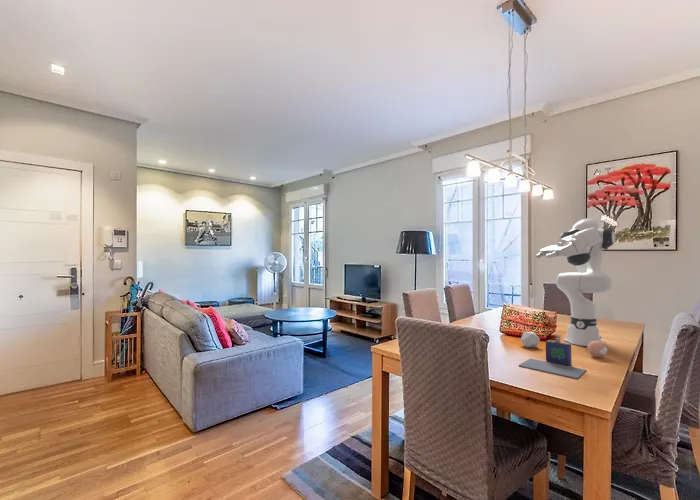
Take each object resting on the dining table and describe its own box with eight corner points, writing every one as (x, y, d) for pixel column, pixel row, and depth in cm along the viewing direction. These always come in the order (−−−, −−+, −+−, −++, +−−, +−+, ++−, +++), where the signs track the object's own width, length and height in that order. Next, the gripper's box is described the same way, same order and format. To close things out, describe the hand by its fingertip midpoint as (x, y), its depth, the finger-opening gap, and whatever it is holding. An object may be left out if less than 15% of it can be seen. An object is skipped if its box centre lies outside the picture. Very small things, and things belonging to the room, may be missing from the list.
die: (538, 351, 175) (544, 334, 178) (522, 342, 176) (529, 326, 180) (530, 352, 182) (536, 337, 186) (515, 344, 184) (521, 328, 187)
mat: (530, 359, 159) (530, 358, 159) (586, 370, 143) (586, 369, 143) (518, 366, 149) (518, 365, 149) (577, 379, 133) (577, 378, 133)
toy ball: (608, 360, 156) (608, 343, 157) (588, 358, 161) (587, 341, 161) (606, 356, 163) (606, 339, 163) (587, 354, 167) (586, 337, 168)
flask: (572, 365, 151) (571, 338, 151) (571, 366, 148) (570, 340, 148) (546, 360, 157) (546, 335, 157) (545, 362, 155) (544, 337, 155)
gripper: (552, 241, 177) (528, 251, 177) (578, 239, 157) (550, 250, 157) (557, 252, 177) (532, 262, 177) (583, 251, 157) (556, 263, 157)
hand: (541, 256), depth 167 cm, fingers open, 8 cm apart
